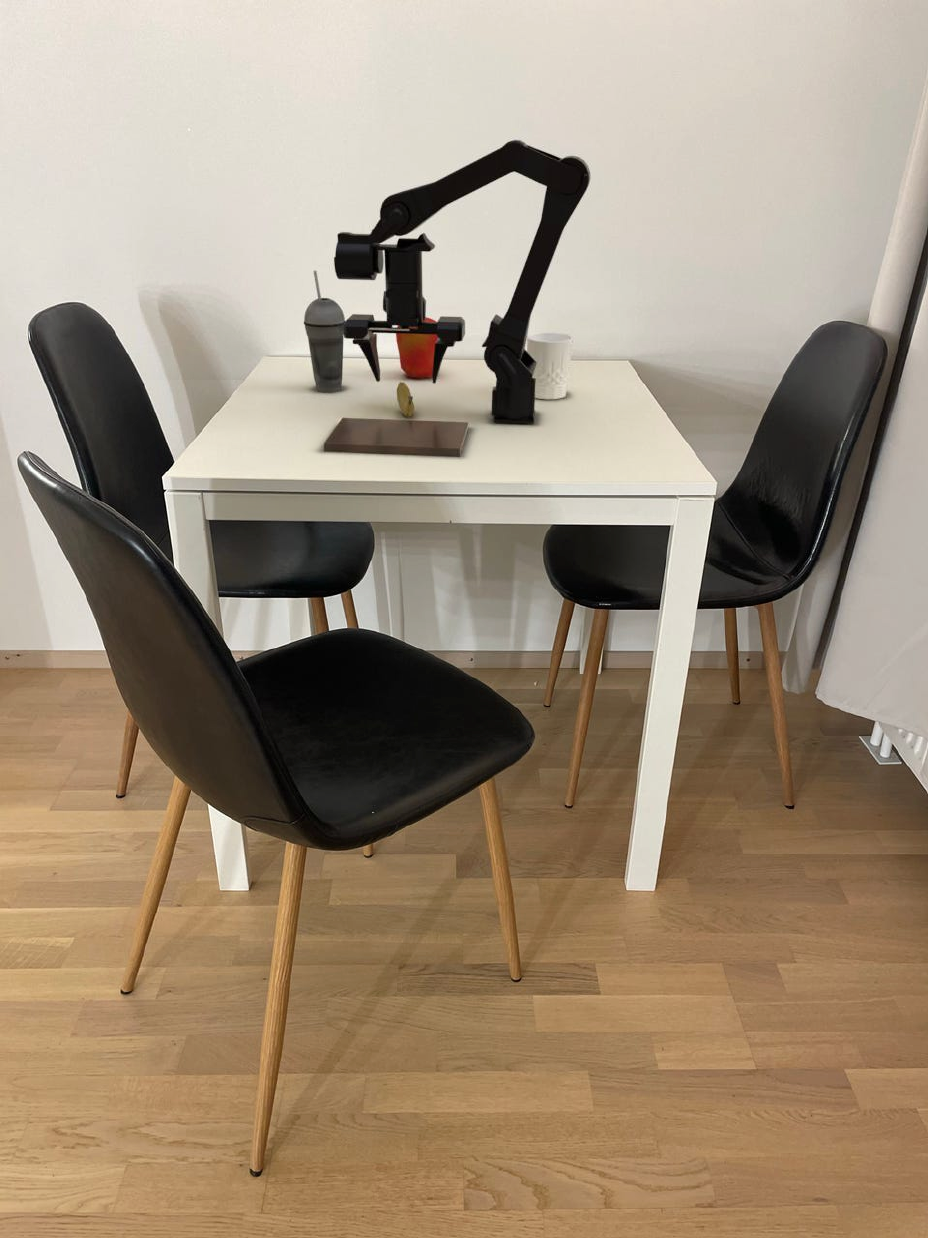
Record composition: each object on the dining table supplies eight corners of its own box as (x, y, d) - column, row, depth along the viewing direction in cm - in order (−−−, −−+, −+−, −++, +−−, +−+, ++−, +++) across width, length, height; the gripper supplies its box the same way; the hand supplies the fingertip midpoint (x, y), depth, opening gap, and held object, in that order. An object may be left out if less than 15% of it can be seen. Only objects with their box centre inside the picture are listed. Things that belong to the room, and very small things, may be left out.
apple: (388, 377, 173) (386, 312, 167) (413, 368, 179) (412, 305, 173) (426, 384, 169) (425, 317, 163) (451, 374, 175) (451, 310, 169)
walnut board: (468, 429, 145) (468, 422, 144) (459, 456, 134) (460, 448, 133) (342, 424, 146) (342, 417, 146) (324, 451, 135) (323, 443, 135)
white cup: (518, 397, 161) (520, 339, 156) (532, 386, 168) (535, 330, 163) (561, 402, 159) (565, 343, 154) (574, 391, 165) (578, 334, 160)
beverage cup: (342, 395, 162) (335, 274, 152) (302, 392, 163) (293, 273, 153) (354, 384, 168) (348, 268, 158) (316, 382, 169) (308, 266, 159)
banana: (395, 404, 157) (394, 380, 155) (409, 403, 157) (408, 380, 155) (403, 421, 148) (402, 396, 146) (418, 420, 149) (417, 396, 147)
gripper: (468, 274, 149) (467, 371, 157) (354, 272, 151) (359, 368, 158) (461, 285, 139) (461, 388, 147) (340, 283, 141) (346, 385, 148)
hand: (406, 381), depth 150 cm, fingers open, 9 cm apart
